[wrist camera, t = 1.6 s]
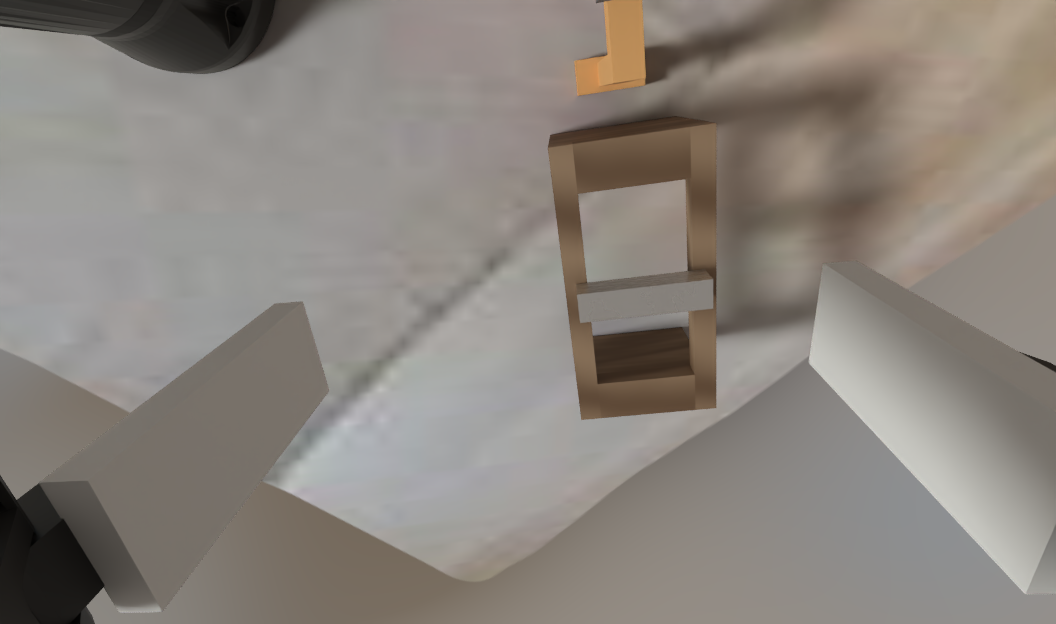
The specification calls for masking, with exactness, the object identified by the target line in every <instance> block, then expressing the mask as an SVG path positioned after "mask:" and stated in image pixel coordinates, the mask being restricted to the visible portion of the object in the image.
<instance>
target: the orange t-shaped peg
mask: <svg viewBox="0 0 1056 624" xmlns="http://www.w3.org/2000/svg"><path fill="white" fill-rule="evenodd" d="M599 2H604V11H605V25H606V38H607V52H608V54H607V55H606V56H601V57H595V58H589V59H583V60H577V61H575V72H576V83H577V93H578V96H580V95H586V94H593V93H599V92H605V91H612V90H618V89H624V88H631V87H637V86H644V85H645V78H646V71H645V50H644V30H643V9H642V0H596V3H599Z"/></svg>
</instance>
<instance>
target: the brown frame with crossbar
mask: <svg viewBox="0 0 1056 624" xmlns="http://www.w3.org/2000/svg"><path fill="white" fill-rule="evenodd" d="M548 153H549V161H550V169H551V177H552V185H553V193H554V201H555V210H556V218H557V226H558V234H559V242H560V250H561V258H562V266H563V274H564V282H565V290H566V298H567V307H568V315H569V323H570V331H571V339H572V347H573V355H574V363H575V371H576V379H577V387H578V396H579V404H580V412H581V420H584V419H595V418H607V417H618V416H630V415H641V414H653V413H664V412H675V411H687V410H698V409H710V408H716V123H713V122H707V121H701V120H695V119H689V118H683V117H677V116H675V117H668V118H661V119H655V120H648V121H641V122H635V123H628V124H621V125H615V126H608V127H601V128H595V129H588V130H581V131H574V132H568V133H561V134H554V135H550V140H549V145H548ZM682 179H686V216H687V261H688V271H692V270H701V269H705V270H706V271H707V272H708V274H709V275H710V276H711V277H712V278H713V309H705V310H695V311H689V339H688V337H687V335H686V334H685V332H684V330H683V328H682V327H679V328H669V329H660V330H650V331H641V332H631V333H622V334H612V335H602V336H593V335H592V326H591V322H585V323H580V317H579V309H578V300H577V290H576V284H581V283H587V278H586V269H585V259H584V250H583V240H582V231H581V221H580V212H579V202H578V194H580V193H587V192H594V191H602V190H609V189H616V188H624V187H631V186H638V185H646V184H653V183H660V182H668V181H675V180H682Z"/></svg>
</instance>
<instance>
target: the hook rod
mask: <svg viewBox="0 0 1056 624" xmlns="http://www.w3.org/2000/svg"><path fill="white" fill-rule="evenodd" d="M576 290H577V300H578V309H579V317H580V323H585V322H594V321H603V320H612V319H622V318H631V317H640V316H649V315H658V314H668V313H677V312H686V311H695V310H705V309H713V278H712V277H711V276H710V275H709V274H708V272H707V271H706V270H705V269H701V270H692V271H684V272H675V273H666V274H658V275H649V276H641V277H632V278H624V279H615V280H606V281H598V282H589V283H581V284H576Z"/></svg>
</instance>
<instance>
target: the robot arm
mask: <svg viewBox="0 0 1056 624" xmlns="http://www.w3.org/2000/svg"><path fill="white" fill-rule="evenodd" d="M274 2H275V0H0V26H3V27H13V28H22V29H31V30H40V31H50V32H59V33H68V34H77V35H87V36H92V37H94V38H96V39H97V40H99V41H101V42H103V43H105V44H107V45H109V46H111V47H112V48H114V49H116V50H118V51H120V52H122V53H124V54H126V55H128V56H129V57H131V58H133V59H135V60H137V61H139V62H142V63H144V64H146V65H149V66H152V67H155V68H158V69H162V70H166V71H171V72H178V73H193V74H208V73H215V72H219V71H223V70H226V69H228V68H231V67H233V66H235V65H236V64H238V63H240V62H241V61H242V60H244V59H245V58H246V57H247V56H249V55H250V54H251V53H252V52H253V50H254V49H255V48H256V47H257V46H258V44H259V43H260V41H261V40H262V38H263V36H264V34H265V32H266V30H267V28H268V25H269V23H270V20H271V16H272V13H273V8H274ZM809 364H810V365H811V366H812V367H813V368H814V369H815V370H816V371H817V372H818V373H819V374H820V376H822V378H823V379H824V380H825V381H826V382H827V383H828V384H829V385H830V386H831V387H832V388H833V389H834V390H835V391H836V393H837V394H838V395H839V396H840V397H841V398H842V399H843V400H844V401H845V402H846V403H847V404H848V405H849V406H850V407H851V409H853V411H854V412H855V413H856V414H857V415H858V416H859V417H860V418H861V419H862V420H863V421H864V422H865V424H866V425H868V427H869V428H870V429H871V430H872V431H873V432H874V433H875V434H876V435H877V436H878V437H879V439H881V441H882V442H883V443H884V444H885V445H886V446H887V447H888V448H889V449H890V450H891V451H892V452H893V453H894V455H895V456H897V458H898V459H899V460H900V461H901V462H902V463H903V464H904V465H905V466H906V467H907V468H908V469H909V471H910V472H912V474H913V475H914V476H915V477H916V478H917V479H918V480H919V481H920V482H921V483H922V484H923V485H924V487H925V488H926V489H927V490H928V491H929V492H930V493H931V494H932V495H933V496H934V497H935V498H936V499H937V500H938V501H939V502H940V504H941V505H942V506H943V507H944V508H945V509H946V510H947V511H948V512H949V513H950V514H951V515H952V516H953V518H954V519H955V520H956V521H957V522H958V523H959V524H960V525H961V526H962V527H963V528H964V529H965V530H966V531H967V532H968V534H969V535H970V536H971V537H972V538H973V539H974V540H975V541H976V542H977V543H978V544H979V545H980V546H981V547H982V548H983V550H985V552H986V553H987V554H988V555H989V556H990V557H991V558H992V559H993V560H994V561H995V562H996V563H997V564H998V565H999V567H1000V568H1001V569H1002V570H1003V571H1004V572H1005V573H1006V574H1007V575H1008V576H1009V577H1010V578H1011V579H1012V581H1013V582H1014V583H1015V584H1016V585H1017V586H1018V587H1019V588H1020V589H1021V590H1022V591H1023V592H1024V593H1025V594H1056V366H1055V365H1053V364H1051V363H1049V362H1047V361H1044V360H1041V359H1038V358H1035V357H1032V356H1030V355H1027V354H1024V353H1021V352H1018V351H1016V350H1015V349H1013V348H1011V347H1009V346H1008V345H1006V344H1004V343H1002V342H1000V341H998V340H997V339H995V338H993V337H991V336H989V335H988V334H986V333H984V332H982V331H981V330H979V329H977V328H975V327H974V326H972V325H970V324H968V323H966V322H965V321H963V320H961V319H959V318H958V317H956V316H954V315H952V314H950V313H949V312H947V311H945V310H943V309H942V308H939V307H938V306H936V305H934V304H933V303H931V302H929V301H927V300H925V299H924V298H922V297H920V296H918V295H917V294H914V293H913V292H911V291H909V290H908V289H906V288H904V287H902V286H900V285H899V284H897V283H895V282H893V281H892V280H890V279H888V278H886V277H884V276H883V275H881V274H879V273H877V272H875V271H874V270H872V269H870V268H868V267H867V266H865V265H863V264H861V263H859V262H858V261H847V262H833V263H823V267H822V274H821V281H820V288H819V295H818V302H817V309H816V316H815V323H814V330H813V337H812V344H811V351H810V358H809ZM328 392H329V388H328V384H327V381H326V378H325V374H324V371H323V368H322V364H321V361H320V358H319V354H318V351H317V347H316V344H315V341H314V337H313V334H312V331H311V327H310V324H309V321H308V317H307V314H306V311H305V307H304V304H303V302H290V303H276V304H274V305H273V306H271V307H270V308H269V309H267V310H266V311H265V312H263V313H262V314H261V315H259V316H258V317H257V318H255V319H254V320H253V321H251V322H250V323H249V324H248V325H246V326H245V327H244V328H242V329H241V330H240V331H238V332H237V333H236V334H234V335H233V336H232V337H230V338H229V339H228V340H226V341H225V342H224V343H222V344H221V345H220V346H218V347H217V348H216V349H214V350H213V351H212V352H211V353H209V354H208V355H207V356H205V357H204V358H203V359H201V360H200V361H199V362H197V363H196V364H195V365H193V366H192V367H191V368H189V369H188V370H187V371H185V372H184V373H183V374H181V375H180V376H179V377H178V378H176V379H175V380H174V381H172V382H171V383H170V384H168V385H167V386H166V387H164V388H163V389H162V390H160V391H159V392H158V393H156V394H155V395H154V396H152V397H151V398H150V399H148V400H147V401H146V402H144V403H143V404H142V405H141V406H139V407H138V408H137V409H135V410H134V411H133V412H131V413H130V414H129V415H127V416H126V417H125V418H123V419H122V420H121V421H119V422H118V423H117V424H115V425H114V426H113V427H112V428H110V429H109V430H108V431H106V432H105V433H104V434H102V435H101V436H100V437H98V438H97V439H96V440H94V441H93V442H92V443H90V444H89V445H88V446H86V447H85V448H84V449H82V450H81V451H80V452H78V454H76V455H74V456H73V457H72V458H71V459H69V460H68V461H67V462H65V463H64V464H63V465H61V466H60V467H59V468H57V469H56V470H55V471H53V472H52V473H51V474H50V475H48V476H47V477H45V478H44V479H43V480H42V481H40V482H39V484H37V485H36V486H35V487H33V488H32V489H31V490H29V491H28V492H27V493H25V494H24V495H23V496H22V497H20V498H19V499H18V500H16V499H15V497H14V496H13V494H12V493H11V491H10V490H9V488H8V486H7V485H6V483H5V482H4V480H3V479H2V477H1V476H0V624H95V623H94V620H93V617H92V615H91V613H90V612H89V610H88V609H87V607H86V606H87V604H89V602H90V601H91V600H92V599H93V598H94V597H95V596H96V595H97V594H98V593H99V591H100V590H101V589H102V588H103V587H104V588H105V590H106V592H107V594H108V595H109V597H110V598H111V600H112V602H113V603H114V605H115V606H116V608H117V610H118V611H119V612H120V613H125V612H162V611H163V610H164V609H165V608H166V607H167V605H168V604H169V602H170V601H171V600H172V599H173V597H174V596H175V595H176V593H177V592H178V591H179V589H180V588H181V587H182V585H183V584H184V583H185V581H186V580H187V579H188V577H189V576H190V575H191V573H192V572H193V571H194V569H195V568H196V567H197V566H198V564H199V563H200V561H201V560H202V559H203V557H204V556H205V555H206V554H207V552H208V551H209V550H210V548H211V547H212V546H213V544H214V543H215V542H216V540H217V539H218V538H219V536H220V535H221V533H222V532H223V531H224V530H225V528H226V527H227V526H228V524H229V523H230V521H231V520H232V519H233V518H234V516H235V515H236V514H237V512H238V511H239V510H240V509H241V507H242V506H243V504H244V503H245V502H246V501H247V499H248V498H249V496H250V495H251V494H252V493H253V491H254V490H255V488H256V487H257V486H258V485H259V483H260V482H261V481H262V479H263V478H264V477H265V475H266V474H267V473H268V471H269V470H270V469H271V467H272V466H273V465H274V463H275V462H276V461H277V459H278V458H279V457H280V455H281V454H282V453H283V452H284V450H285V449H286V448H287V446H288V445H289V444H290V442H291V441H292V440H293V438H294V437H295V436H296V434H297V433H298V432H299V430H300V429H301V428H302V426H303V425H304V424H305V422H306V421H307V420H308V418H309V417H310V416H311V414H312V413H313V412H314V410H315V409H316V408H317V406H318V405H319V404H320V402H321V401H322V400H323V398H324V397H325V396H326V394H327V393H328Z"/></svg>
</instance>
